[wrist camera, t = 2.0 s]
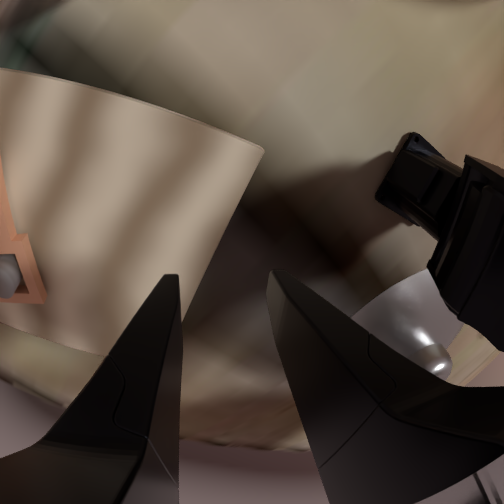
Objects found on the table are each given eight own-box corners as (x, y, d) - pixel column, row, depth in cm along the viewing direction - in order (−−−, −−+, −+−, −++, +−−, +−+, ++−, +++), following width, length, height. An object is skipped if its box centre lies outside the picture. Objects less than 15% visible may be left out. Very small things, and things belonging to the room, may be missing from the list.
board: (260, 146, 18) (278, 165, 15) (160, 359, 28) (161, 394, 24) (-40, 63, 9) (-76, 69, 6) (-44, 292, 19) (-61, 320, 15)
